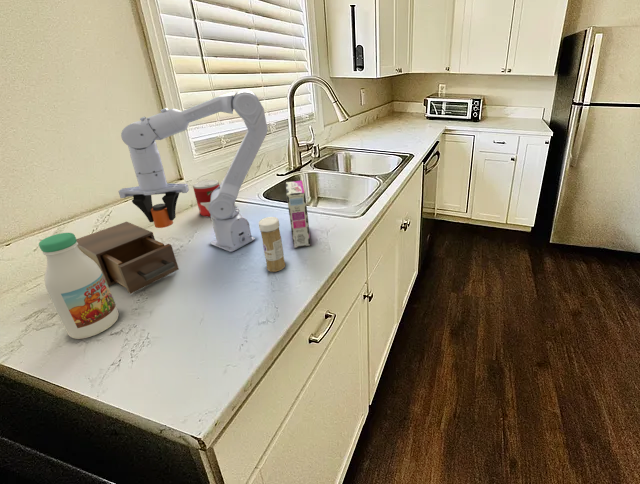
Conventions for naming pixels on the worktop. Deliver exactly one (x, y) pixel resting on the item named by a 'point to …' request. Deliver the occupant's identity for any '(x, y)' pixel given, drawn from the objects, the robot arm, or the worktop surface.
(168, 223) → the orange cylinder
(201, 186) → the red coffee cup
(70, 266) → the milk bottle
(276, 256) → the sprinkles bottle
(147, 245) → the drawer
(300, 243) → the candy bar box
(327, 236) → the worktop surface
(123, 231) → the cabinet
